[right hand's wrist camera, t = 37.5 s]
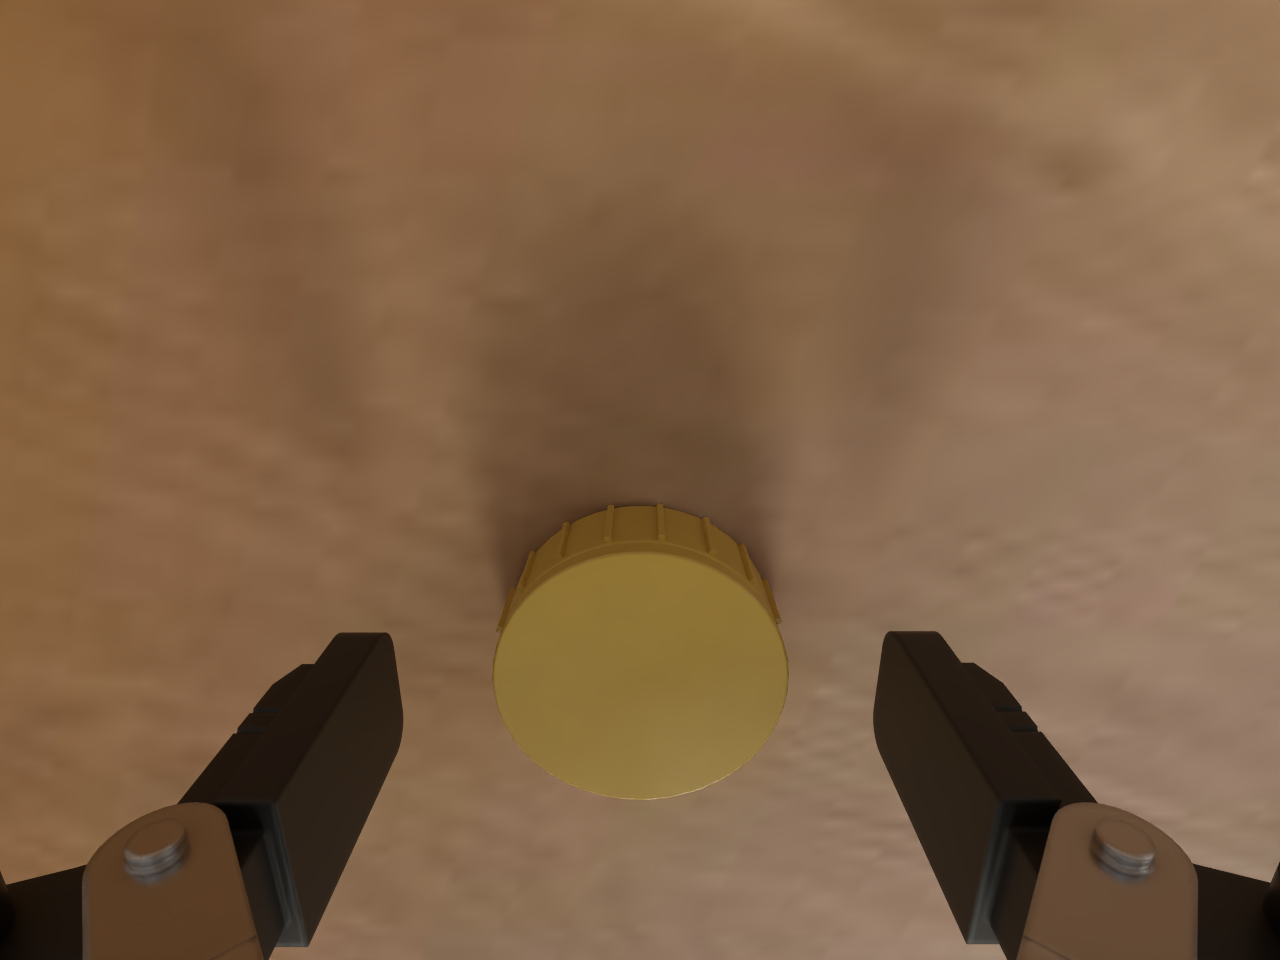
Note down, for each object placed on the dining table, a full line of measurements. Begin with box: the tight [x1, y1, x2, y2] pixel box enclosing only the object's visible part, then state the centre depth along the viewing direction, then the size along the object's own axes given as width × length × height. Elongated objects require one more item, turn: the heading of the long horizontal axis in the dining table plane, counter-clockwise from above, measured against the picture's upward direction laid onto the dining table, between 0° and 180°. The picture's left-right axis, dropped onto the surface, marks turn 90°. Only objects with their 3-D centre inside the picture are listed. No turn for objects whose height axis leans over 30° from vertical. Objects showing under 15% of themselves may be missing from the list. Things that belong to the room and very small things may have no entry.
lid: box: [493, 503, 789, 800], centre depth 12 cm, size 5×5×2 cm
